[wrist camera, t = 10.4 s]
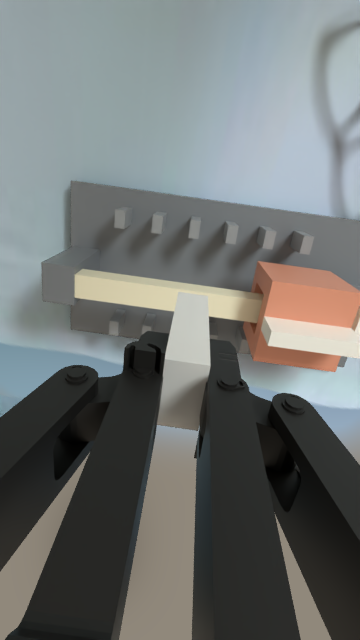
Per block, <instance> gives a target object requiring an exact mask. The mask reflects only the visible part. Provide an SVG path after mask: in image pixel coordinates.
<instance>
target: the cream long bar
mask: <svg viewBox="0 0 360 640" xmlns="http://www.w3.org/2000/svg"><path fill="white" fill-rule="evenodd" d="M178 292H183V293H190V294H197V295H205V296H208V310H209V316H210V317H217V318H224V319H231V320H239V321H246V322H253V323H257V322H258V317H259V313H260V309H261V305H262V301H263V297H264V294H260V293H253V292H245V291H238V290H231V289H224V288H217V287H210V286H202V285H195V284H188V283H181V282H174V281H166V280H159V279H152V278H145V277H138V276H131V275H123V274H116V273H109V272H102V271H95V270H88V269H82V270H80V271H79V272H78V273H76V274H75V298H81V299H88V300H95V301H102V302H109V303H117V304H124V305H131V306H138V307H145V308H152V309H160V310H167V311H175V306H176V301H177V296H178ZM351 329H352V330H354V331H355V332H356V333H357V334H358V335H359V336H360V305H359V308H358V311H357V314H356V316H355V319H354V322H353V325H352V327H351Z"/></svg>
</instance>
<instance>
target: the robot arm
mask: <svg viewBox="0 0 360 640" xmlns="http://www.w3.org/2000/svg"><path fill="white" fill-rule="evenodd" d="M199 423H200V430H199V435H198V440H197V445H196V451H195V455H194V458H197V467H196V504H195V543H194V580H193V617H192V618H193V619H192V640H301V639H300V634H299V630H298V625H297V621H296V615H295V610H294V605H293V600H292V596H291V591H290V586H289V581H288V576H287V571H286V566H285V562H284V557H283V552H282V547H281V542H280V538H279V533H278V528H277V523H276V518H275V514H276V517H277V519H278V521H279V523H280V526H281V528H282V530H283V532H284V534H285V537H286V539H287V541H288V543H289V546H290V548H291V550H292V552H293V554H294V557H295V559H296V561H297V563H298V566H299V568H300V570H301V572H302V575H303V577H304V579H305V581H306V583H307V586H308V588H309V590H310V592H311V595H312V597H313V599H314V601H315V603H316V606H317V608H318V610H319V612H320V614H321V617H322V619H323V621H324V623H325V626H326V628H327V630H328V632H329V635H330V637H331V639H332V640H360V465H359V464H358V463H357V461H356V460H355V459H354V457H353V456H352V455H351V454H350V452H349V451H348V450H347V449H346V447H345V446H344V445H343V444H342V443H341V441H340V440H339V439H338V437H337V436H336V435H335V434H334V432H333V431H332V430H331V429H330V427H329V426H328V425H327V424H326V422H325V421H324V420H323V419H322V417H321V416H320V415H319V414H318V412H317V411H316V410H315V409H314V407H313V406H312V405H311V404H310V403H309V402H308V401H306V400H304V399H303V398H301V397H299V396H297V395H293V394H287V393H281V394H277V395H275V396H274V397H273V399H272V402H271V401H268V400H265V399H263V398H260V397H258V396H255V395H254V394H252V393H250V392H249V387H248V385H247V383H246V382H245V381H244V380H243V379H241V375H240V369H239V364H238V359H237V353H236V348H235V347H234V346H233V345H232V343H231V342H230V341H223V340H216V339H210V337H209V310H208V296H205V295H197V294H190V293H183V292H178V296H177V301H176V306H175V311H174V315H173V320H172V325H171V330H170V334H168V333H161V332H154V331H147V332H145V333H144V334H142V335H141V337H140V339H139V341H137V342H132V343H130V344H128V345H127V346H126V347H125V351H124V366H123V372H122V373H121V374H119V375H116V376H112V377H101V378H98V373H97V372H96V371H95V369H93V368H91V367H88V366H83V365H73V366H68V367H65V368H63V369H61V370H59V371H58V372H56V373H55V374H54V375H53V376H51V377H50V378H49V379H48V380H46V381H45V382H44V383H43V384H42V385H40V386H39V387H38V388H36V389H35V390H34V391H33V392H32V393H30V394H29V395H28V396H27V397H25V398H24V399H23V400H22V401H20V402H19V403H18V404H17V405H15V406H14V407H13V408H12V409H10V410H9V411H8V412H7V413H5V414H4V415H3V416H2V417H0V571H1V570H2V568H3V567H4V566H5V564H6V563H7V562H8V560H9V559H10V558H11V556H12V555H13V554H14V552H15V551H16V550H17V548H18V547H19V546H20V544H21V543H22V542H23V540H24V539H25V538H26V536H27V535H28V534H29V532H30V531H31V530H32V528H33V527H34V525H35V524H36V523H37V522H38V520H39V519H40V518H41V516H42V515H43V514H44V512H45V511H46V510H47V508H48V507H49V506H50V504H51V503H52V502H53V500H54V499H55V498H56V496H57V495H58V494H59V492H60V491H61V490H62V488H63V487H64V486H65V484H66V483H67V482H68V480H69V479H70V478H71V476H72V475H73V474H74V472H75V471H76V470H77V468H78V467H79V466H80V464H81V463H82V462H83V460H84V459H85V458H86V456H87V455H88V454H89V452H90V454H89V456H88V459H87V461H86V464H85V466H84V469H83V471H82V474H81V476H80V478H79V481H78V483H77V486H76V488H75V491H74V493H73V496H72V498H71V501H70V503H69V506H68V508H67V511H66V514H65V516H64V518H63V521H62V523H61V526H60V528H59V531H58V533H57V536H56V538H55V541H54V543H53V546H52V548H51V551H50V553H49V556H48V558H47V561H46V563H45V566H44V568H43V571H42V573H41V576H40V578H39V580H38V583H37V585H36V588H35V590H34V593H33V595H32V598H31V600H30V603H29V606H28V608H27V610H26V612H25V615H24V617H23V619H22V621H21V623H20V624H19V626H18V627H17V628H16V629H15V630H14V631H12V632H11V633H10V634H9V635H8V636H7V638H6V639H5V640H119V635H120V630H121V624H122V619H123V613H124V608H125V602H126V597H127V591H128V585H129V580H130V574H131V569H132V563H133V557H134V552H135V546H136V541H137V535H138V530H139V524H140V518H141V513H142V507H143V502H144V495H145V491H146V485H147V479H148V474H149V468H150V463H151V456H152V451H153V445H154V439H155V434H156V426H157V425H161V426H169V427H175V428H182V429H189V430H196V431H198V428H199ZM274 512H275V513H274Z"/></svg>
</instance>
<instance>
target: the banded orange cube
mask: <svg viewBox="0 0 360 640" xmlns="http://www.w3.org/2000/svg"><path fill="white" fill-rule="evenodd" d="M251 292H253V293H260V294H264V297H263V301H262V305H261V309H260V313H259V317H258V322H257V323H253V322H246V321H244V324H243V329H244V332H245V336H246V339H247V342H248V345H249V349H250V352H251V355H252V358H253V361H260V362H267V363H274V364H282V365H289V366H296V367H303V368H310V369H317V370H325V371H332V372H335V371H336V369H337V366H338V363H339V360H340V358H341V356H345V357H352V358H359V359H360V336H359V335H358V334H357V333H356V332H355V331H354V330H352V329H351V327H352V325H353V322H354V319H355V316H356V314H357V311H358V308H359V305H360V291H359V290H358V289H356V288H355V287H353V286H352V285H350V284H349V283H347V282H346V281H344V280H343V279H341V278H340V277H338V276H337V275H335V274H334V273H332V272H331V271H326V270H319V269H312V268H304V267H297V266H290V265H283V264H276V263H269V262H261V261H257V266H256V270H255V275H254V279H253V284H252V288H251Z"/></svg>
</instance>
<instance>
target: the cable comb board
mask: <svg viewBox="0 0 360 640" xmlns="http://www.w3.org/2000/svg"><path fill="white" fill-rule="evenodd" d="M257 261H261V262H269V263H276V264H283V265H290V266H297V267H304V268H312V269H319V270H326V271H331V272H332V273H334V274H335V275H337V276H338V277H340V278H341V279H343V280H344V281H346V282H347V283H349V284H350V285H352V286H353V287H355V288H356V289H358V290H359V291H360V221H358V220H351V219H344V218H337V217H330V216H322V215H315V214H308V213H301V212H294V211H287V210H279V209H272V208H265V207H258V206H251V205H244V204H237V203H229V202H222V201H215V200H208V199H201V198H194V197H187V196H179V195H172V194H165V193H158V192H151V191H144V190H137V189H129V188H122V187H115V186H108V185H101V184H94V183H86V182H79V181H71V248H69V249H67V250H65V251H63V252H61V253H59V254H57V255H55V256H53V257H51V258H49V259H47V260H45V261H43V262H41V265H42V293H43V301H45V302H53V303H60V304H67V305H71V329H73V330H80V331H87V332H94V333H101V334H108V335H114V336H123V337H130V338H137V339H140V337H141V335H142V334H144V333H145V332H147V331H154V332H161V333H168V334H170V330H171V325H172V320H173V315H174V311H167V310H160V309H152V308H145V307H138V306H131V305H124V304H117V303H109V302H102V301H95V300H88V299H81V298H75V274H76V273H78V272H79V271H80V270H82V269H88V270H95V271H102V272H109V273H116V274H123V275H131V276H138V277H145V278H152V279H159V280H166V281H174V282H181V283H188V284H195V285H202V286H210V287H217V288H224V289H231V290H238V291H245V292H251V288H252V284H253V279H254V275H255V270H256V266H257ZM243 324H244V321H239V320H231V319H224V318H217V317H210V316H209V337H210V339H216V340H223V341H230V342H231V343H232V345H233V346H234V347H235V348H236V352H238V353H243V354H251V352H250V349H249V345H248V342H247V339H246V336H245V332H244V329H243ZM346 360H347V357H345V356H341V358H340V360H339V363H338V367H344V365H345V362H346Z"/></svg>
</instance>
